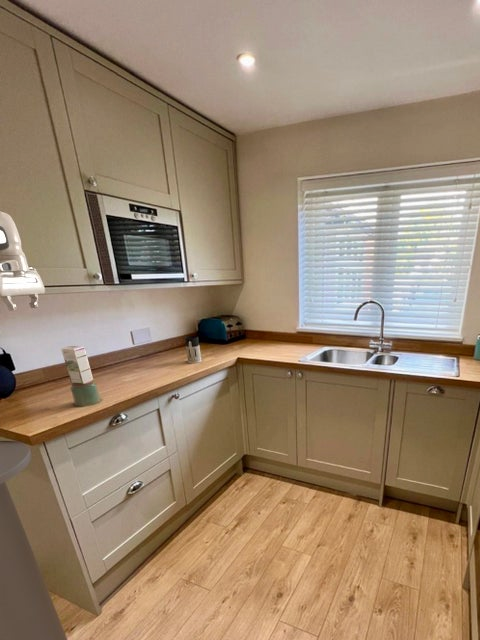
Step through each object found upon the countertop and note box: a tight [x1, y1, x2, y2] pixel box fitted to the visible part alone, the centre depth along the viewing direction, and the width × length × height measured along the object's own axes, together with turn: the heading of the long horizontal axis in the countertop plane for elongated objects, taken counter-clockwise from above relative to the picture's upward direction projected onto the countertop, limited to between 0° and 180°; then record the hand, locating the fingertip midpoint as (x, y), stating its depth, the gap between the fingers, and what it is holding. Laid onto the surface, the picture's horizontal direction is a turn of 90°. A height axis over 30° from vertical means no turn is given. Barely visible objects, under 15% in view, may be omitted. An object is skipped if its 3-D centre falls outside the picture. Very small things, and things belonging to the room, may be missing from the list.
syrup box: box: [61, 345, 94, 384], centre depth 133 cm, size 6×6×14 cm
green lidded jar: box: [69, 379, 101, 407], centre depth 137 cm, size 9×9×9 cm
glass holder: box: [184, 335, 203, 364], centre depth 199 cm, size 9×14×15 cm, turn 10°
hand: (24, 309), depth 114 cm, fingers open, 8 cm apart
